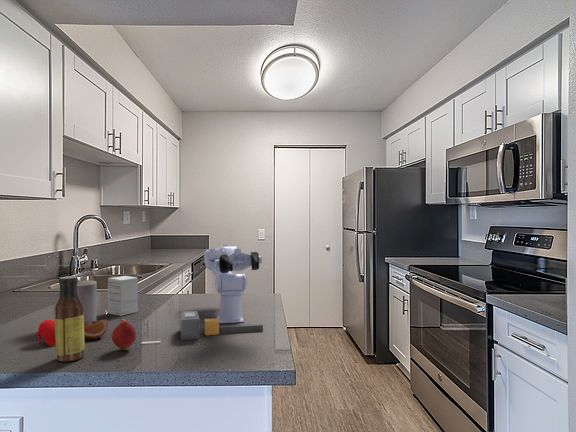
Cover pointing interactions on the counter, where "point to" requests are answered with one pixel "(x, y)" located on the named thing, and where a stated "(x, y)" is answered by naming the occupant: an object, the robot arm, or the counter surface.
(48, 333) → the cap
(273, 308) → the counter surface
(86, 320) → the pillar candle
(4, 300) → the counter surface
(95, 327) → the fruit slice
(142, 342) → the white slender bar
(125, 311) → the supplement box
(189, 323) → the housing
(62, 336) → the sauce bottle
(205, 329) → the orange and grey bar
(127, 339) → the red rounded lump
